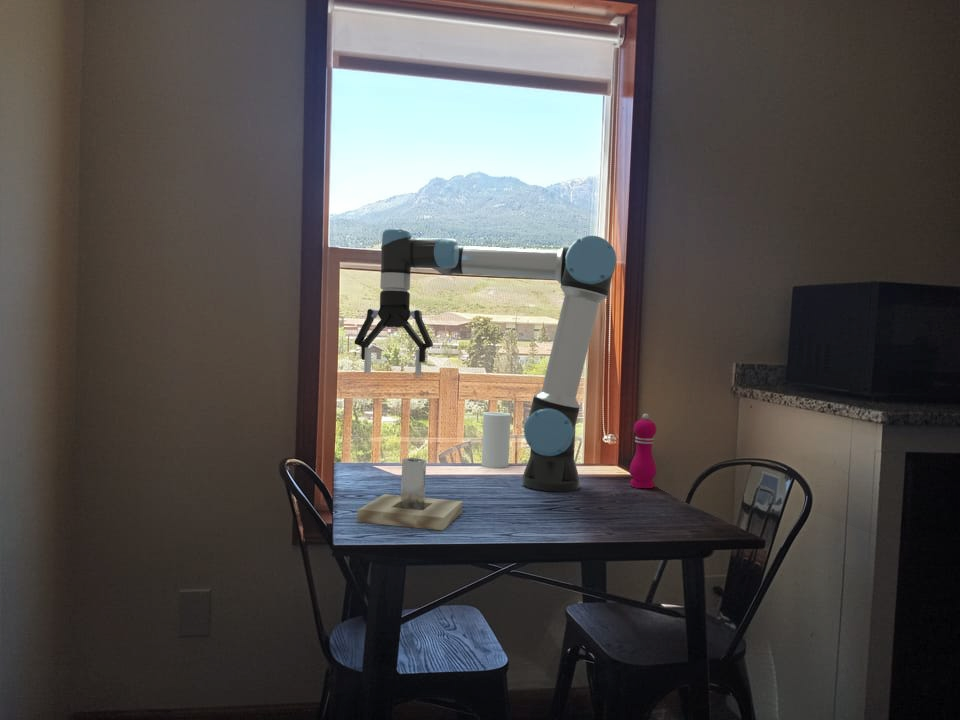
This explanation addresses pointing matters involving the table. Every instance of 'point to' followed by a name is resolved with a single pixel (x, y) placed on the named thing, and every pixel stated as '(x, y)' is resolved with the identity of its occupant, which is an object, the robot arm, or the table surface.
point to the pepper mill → (643, 454)
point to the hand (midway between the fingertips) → (392, 374)
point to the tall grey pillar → (413, 483)
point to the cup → (496, 439)
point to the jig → (410, 513)
